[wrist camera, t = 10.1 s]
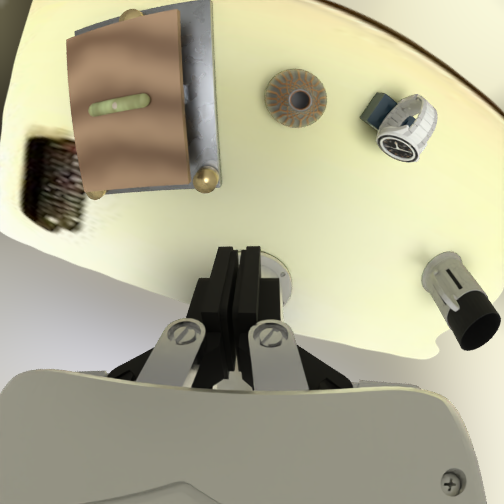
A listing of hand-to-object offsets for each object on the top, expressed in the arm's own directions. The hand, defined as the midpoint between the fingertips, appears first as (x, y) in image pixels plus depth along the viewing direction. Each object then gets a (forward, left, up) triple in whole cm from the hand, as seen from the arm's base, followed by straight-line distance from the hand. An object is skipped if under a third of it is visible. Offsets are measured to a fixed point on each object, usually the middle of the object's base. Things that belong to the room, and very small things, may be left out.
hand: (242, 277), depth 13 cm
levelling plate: (+7, +15, -23) cm, 28 cm away
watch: (+4, -16, -29) cm, 34 cm away
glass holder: (-19, -29, -29) cm, 45 cm away
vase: (+6, -4, -29) cm, 30 cm away
